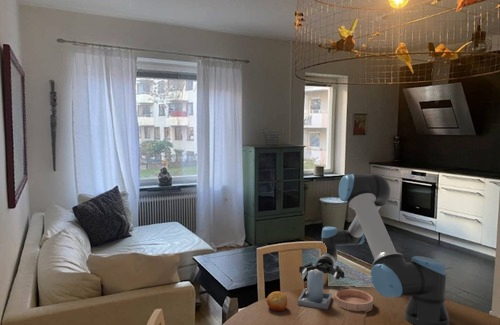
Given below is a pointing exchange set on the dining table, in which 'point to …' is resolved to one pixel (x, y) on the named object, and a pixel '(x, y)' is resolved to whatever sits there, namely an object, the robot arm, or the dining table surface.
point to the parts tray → (323, 304)
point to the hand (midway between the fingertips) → (318, 277)
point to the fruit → (277, 301)
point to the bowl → (353, 300)
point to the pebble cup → (315, 286)
